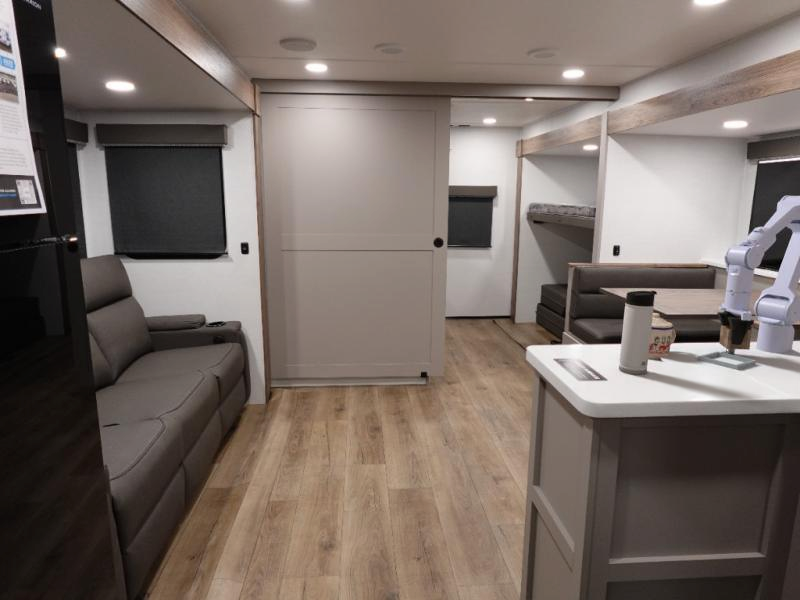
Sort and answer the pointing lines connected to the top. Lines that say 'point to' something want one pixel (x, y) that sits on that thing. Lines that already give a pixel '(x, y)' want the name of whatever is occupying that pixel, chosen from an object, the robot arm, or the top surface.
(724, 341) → the brown wooden cube
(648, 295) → the travel mug
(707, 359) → the tray
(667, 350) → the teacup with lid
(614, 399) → the top surface
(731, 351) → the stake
